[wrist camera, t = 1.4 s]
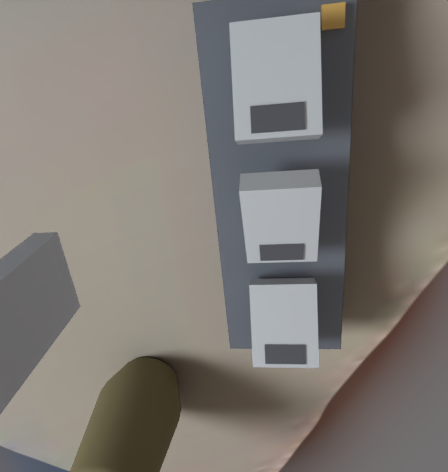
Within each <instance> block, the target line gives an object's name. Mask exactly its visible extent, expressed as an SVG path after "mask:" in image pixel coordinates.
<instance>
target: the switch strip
mask: <svg viewBox="0 0 448 472" xmlns="http://www.w3.org/2000/svg"><path fill="white" fill-rule="evenodd" d="M315 12H320V32H321V77H322V123H323V135H322V136H321V137H320V138H319V139H310V140H296V141H282V142H268V143H254V144H240V145H238V144H237V143H236V141H235V133H234V112H233V92H232V71H231V51H230V30H229V23H230V22H238V21H247V20H255V19H264V18H272V17H281V16H289V15H298V14H306V13H315ZM193 13H194V22H195V31H196V40H197V49H198V58H199V67H200V76H201V86H202V95H203V104H204V113H205V122H206V131H207V140H208V149H209V159H210V168H211V177H212V186H213V195H214V204H215V213H216V222H217V232H218V241H219V250H220V259H221V268H222V277H223V286H224V295H225V305H226V314H227V323H228V332H229V341H230V348H243V349H252V336H251V315H250V293H249V284H250V280H251V279H277V278H315V281H316V283H317V310H318V349H341V334H342V312H343V291H344V269H345V248H346V227H347V205H348V184H349V163H350V141H351V120H352V98H353V77H354V56H355V34H356V13H357V0H213V1H205V2H197V3H193ZM309 169H319V174H320V180H321V185H322V193H321V209H320V224H319V240H318V255H317V261H315V262H276V263H247V255H246V247H245V238H244V230H243V222H242V213H241V205H240V196H239V184H240V174H242V173H259V172H276V171H292V170H309Z"/></svg>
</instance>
